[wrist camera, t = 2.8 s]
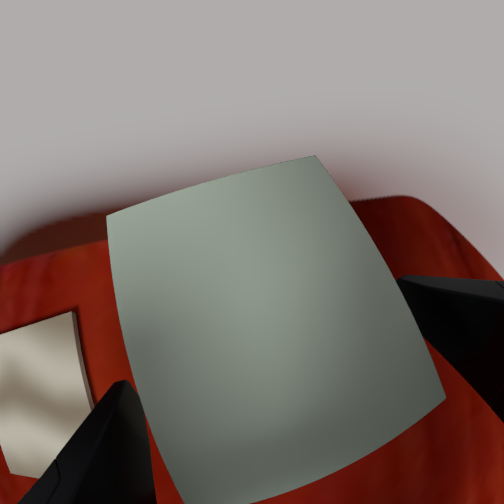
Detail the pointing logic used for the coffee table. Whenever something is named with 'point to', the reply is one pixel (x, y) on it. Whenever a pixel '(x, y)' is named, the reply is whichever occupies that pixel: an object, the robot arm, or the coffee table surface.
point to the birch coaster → (41, 392)
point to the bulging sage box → (264, 332)
